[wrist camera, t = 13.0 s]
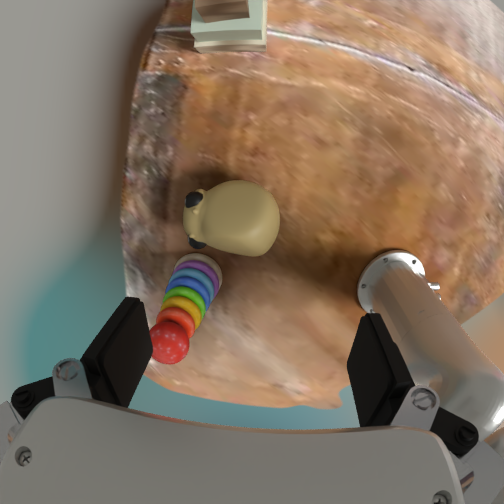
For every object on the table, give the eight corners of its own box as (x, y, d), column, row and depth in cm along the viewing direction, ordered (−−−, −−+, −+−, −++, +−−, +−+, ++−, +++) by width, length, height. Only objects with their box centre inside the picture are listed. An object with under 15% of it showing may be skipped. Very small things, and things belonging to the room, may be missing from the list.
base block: (267, 1, 28) (266, -10, 24) (266, 52, 32) (265, 44, 28) (204, 4, 28) (198, -7, 25) (201, 54, 32) (194, 47, 28)
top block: (263, -9, 24) (262, -22, 21) (262, 40, 28) (261, 29, 24) (202, -6, 25) (195, -18, 21) (198, 42, 28) (190, 33, 24)
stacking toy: (167, 258, 45) (115, 331, 28) (212, 245, 43) (176, 320, 26) (187, 298, 47) (150, 380, 30) (230, 288, 46) (208, 375, 29)
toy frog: (197, 171, 39) (172, 186, 29) (282, 178, 38) (286, 195, 29) (195, 236, 43) (173, 268, 33) (274, 244, 42) (275, 279, 33)
